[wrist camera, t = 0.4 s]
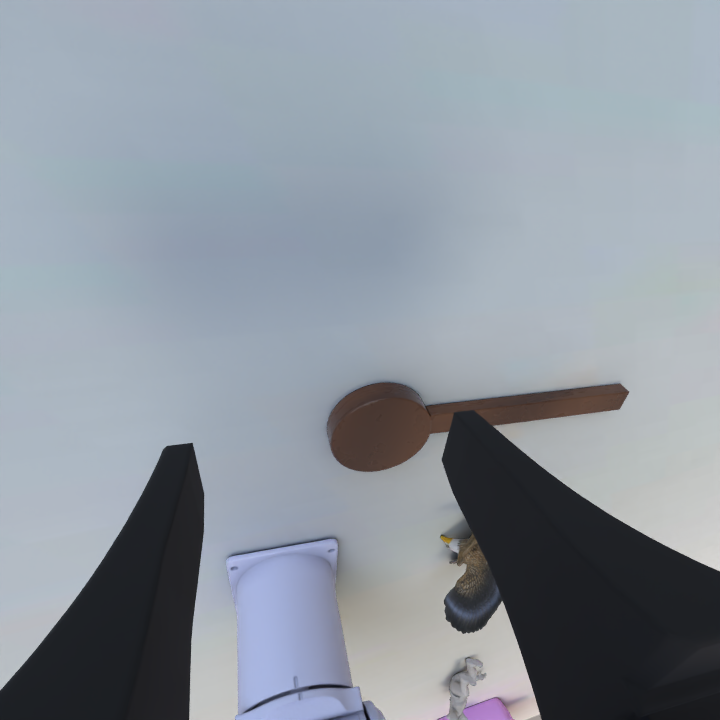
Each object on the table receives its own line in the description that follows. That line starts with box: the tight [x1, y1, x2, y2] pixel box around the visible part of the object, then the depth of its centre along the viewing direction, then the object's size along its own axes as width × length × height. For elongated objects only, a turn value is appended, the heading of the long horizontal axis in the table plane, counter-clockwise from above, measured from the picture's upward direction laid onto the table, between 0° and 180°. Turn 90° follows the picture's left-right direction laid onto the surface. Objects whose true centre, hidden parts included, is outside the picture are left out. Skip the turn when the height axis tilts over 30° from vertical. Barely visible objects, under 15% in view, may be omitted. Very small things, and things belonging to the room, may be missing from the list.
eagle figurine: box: [440, 533, 503, 634], centre depth 35 cm, size 8×7×9 cm
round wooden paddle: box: [327, 383, 629, 472], centre depth 27 cm, size 20×6×1 cm, turn 86°
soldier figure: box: [446, 658, 486, 720], centre depth 59 cm, size 8×5×12 cm
